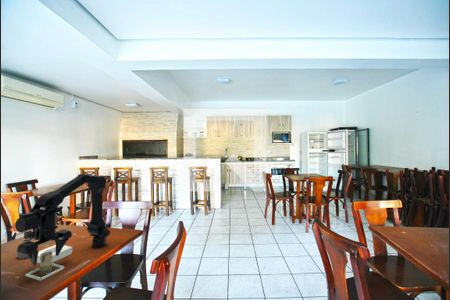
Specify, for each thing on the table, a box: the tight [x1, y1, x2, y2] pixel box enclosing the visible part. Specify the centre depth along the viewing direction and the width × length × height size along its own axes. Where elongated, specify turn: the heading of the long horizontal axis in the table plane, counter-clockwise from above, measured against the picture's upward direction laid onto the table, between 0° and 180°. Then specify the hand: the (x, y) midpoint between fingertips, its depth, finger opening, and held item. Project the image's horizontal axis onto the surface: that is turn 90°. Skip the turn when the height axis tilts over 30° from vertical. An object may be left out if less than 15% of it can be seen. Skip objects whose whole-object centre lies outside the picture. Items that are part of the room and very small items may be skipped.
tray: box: [24, 262, 66, 282], centre depth 96 cm, size 10×9×2 cm
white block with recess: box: [36, 244, 73, 264], centre depth 108 cm, size 12×10×4 cm
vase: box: [16, 239, 33, 260], centre depth 108 cm, size 7×7×9 cm
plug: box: [39, 252, 53, 275], centre depth 96 cm, size 4×4×8 cm
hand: (46, 260), depth 96 cm, fingers open, 9 cm apart
